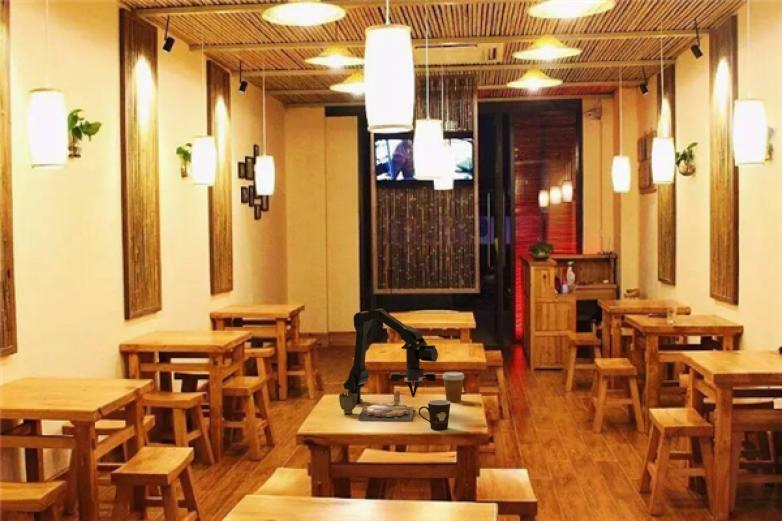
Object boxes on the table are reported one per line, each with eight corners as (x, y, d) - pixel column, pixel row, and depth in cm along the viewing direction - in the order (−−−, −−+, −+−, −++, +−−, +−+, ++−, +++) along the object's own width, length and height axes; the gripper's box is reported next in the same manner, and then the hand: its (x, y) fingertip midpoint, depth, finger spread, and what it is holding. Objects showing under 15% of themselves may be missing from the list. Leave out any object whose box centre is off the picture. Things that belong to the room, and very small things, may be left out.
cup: (354, 416, 342) (354, 396, 342) (336, 415, 344) (336, 396, 343) (359, 412, 350) (358, 392, 349) (341, 411, 351) (341, 392, 351)
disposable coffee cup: (446, 403, 364) (446, 376, 363) (439, 399, 373) (439, 372, 372) (467, 402, 366) (467, 375, 365) (460, 398, 375) (460, 371, 375)
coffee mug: (452, 426, 325) (452, 400, 325) (448, 431, 317) (448, 405, 316) (422, 424, 328) (422, 399, 327) (418, 430, 319) (417, 404, 319)
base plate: (363, 408, 356) (363, 405, 356) (414, 409, 354) (413, 406, 354) (358, 420, 335) (358, 417, 335) (411, 421, 333) (411, 418, 333)
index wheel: (366, 405, 356) (366, 390, 356) (411, 406, 355) (411, 390, 354) (361, 417, 336) (361, 401, 336) (409, 417, 335) (408, 401, 334)
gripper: (390, 363, 345) (390, 401, 346) (436, 363, 345) (436, 401, 345) (390, 358, 356) (391, 395, 357) (435, 358, 356) (435, 395, 357)
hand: (413, 397), depth 354 cm, fingers closed
